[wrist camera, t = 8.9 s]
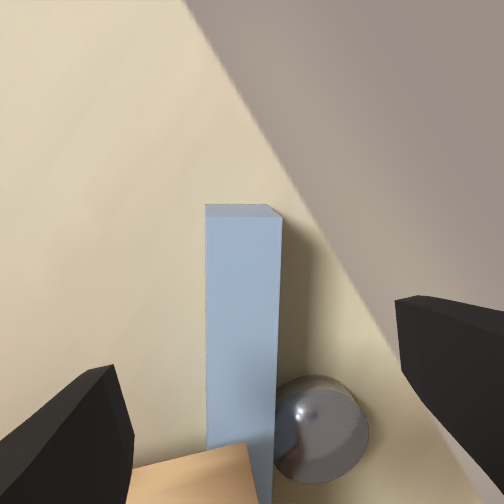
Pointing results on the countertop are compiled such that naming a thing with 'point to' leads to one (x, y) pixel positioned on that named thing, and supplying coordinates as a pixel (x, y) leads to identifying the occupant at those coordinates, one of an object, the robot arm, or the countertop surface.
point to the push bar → (242, 331)
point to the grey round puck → (317, 430)
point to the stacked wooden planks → (197, 479)
